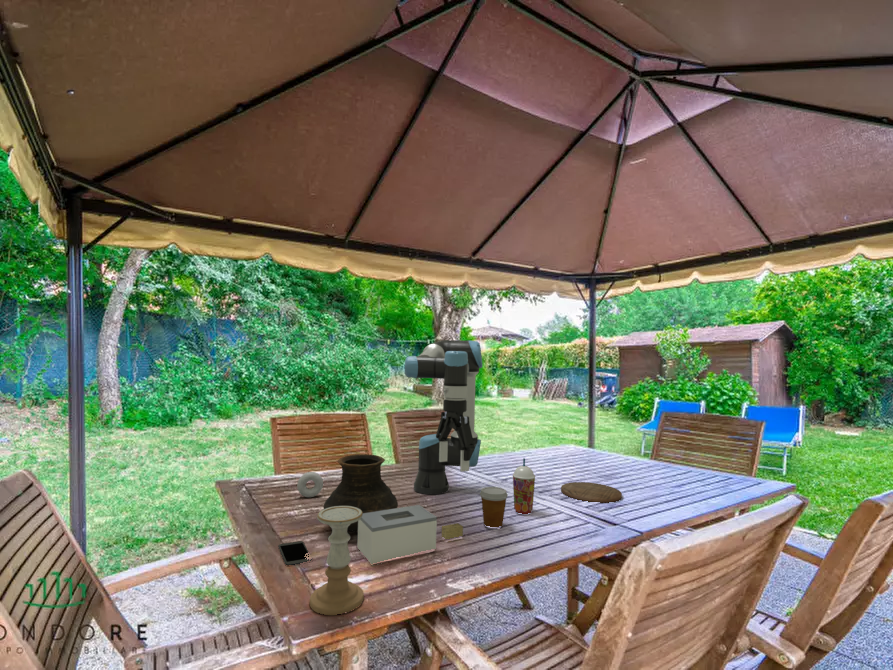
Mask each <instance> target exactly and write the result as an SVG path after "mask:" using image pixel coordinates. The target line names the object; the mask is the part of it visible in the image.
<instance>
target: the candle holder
mask: <svg viewBox="0 0 893 670" xmlns="http://www.w3.org/2000/svg"><path fill="white" fill-rule="evenodd" d="M362 516H363V512H362V510H361V509H359V508H356V507H352V506H334V507H329V508H326V509H324V508H323V509H321V510H320V511H319V512H318V513H317V516H316V518H317V522H319V523H321V524H324V525H326V526H329V527H330V528H331V534H330V535H329V536H328V538H327V539H328V542H329V543H330V546H329V550H328V554H327V557H326V560H325V561H326V564H327V566H328V567H327V568H326V569H325V571H324V574H325V576H326V577H327V582H326V583H324V584H322V585H321V586H319V587H317V588H316V589H315V590H314V591H313V592H312V593H311V595H310V597H309V606H310V608H311V610H312V611H314V612H315V613H317V614H319V613H320V615H323V614H324V615H323V616H338V615H337V614H341V615H343V614H342V613H345V612H348V613H350V612H349V611H351V610H353V609H355V608H356V607H358V606H359V605H360V604H361V603H362V604H363V602H364V598H365V592H364V590H363V588H362V587H361V586H359V585H358V584H355V583H353V582H351V581H349V579H348V578H349V577H348V576H349V575H350V574H351V572H352V568H351V566H349V563H350V562H351V559H352V557H351V553H350V551H349V550H350V549H349V543H348V542H349V541H350V540H351V535H350V534H349V533H348V529H347V528H348V526H349V525H350V524H351V523H354V522H357V521H359V520H360V519H361V518H362ZM362 601H363V602H362ZM362 604H361V605H362ZM361 605H360V606H361ZM360 606H359V607H360ZM359 607H358V608H359ZM356 609H357V608H356ZM356 609H355V610H356ZM353 611H354V610H353ZM351 612H352V611H351ZM345 614H346V613H345Z"/></svg>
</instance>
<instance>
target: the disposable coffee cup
mask: <svg viewBox="0 0 893 670" xmlns="http://www.w3.org/2000/svg"><path fill="white" fill-rule="evenodd" d="M479 495H480V498H481V507H482V509H481V511H482V518H483V525H484V524H485V525H486V526H490V527H499V526H502V525H504V518H505V512H506V505H507V504H506V503H507V499H508V495H509V494H508V492H507V490H506V489H504V488H502V487H499V486H498V487H496V486H486V487H483V488H481V490H480V493H479ZM502 527H503V526H502Z"/></svg>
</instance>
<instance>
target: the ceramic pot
mask: <svg viewBox="0 0 893 670" xmlns="http://www.w3.org/2000/svg"><path fill="white" fill-rule="evenodd" d="M385 461H386V458H384V457H382V456H380V455H376V454H370V453H369V454H368V453H367V454H366V453H362V454H356V453H355V454H351V455H350V454H349V455H345V456H342V457H341V458H339V459H338V461H337V463H338V464H339V465H340V466H341V471H342V472H341V479H340V480H341V481H340V483H339V484H337V487H336V488H335V489H334V490H333V491H332V492H331V493H330V495H329V496H328V498H327V499H326V500H325V502H324V503H323V509H326V508H329V507H334V506H352V507H356V508H359V509H361V510H362V512H363V513H369V512H376V511H382V510H389V509H395V508H399V504H398V500H397V497H396V495H394V494H393V491H392V489H391V488H390V487H389V486H388V485H387V484H386V483H385V481H384V480H383V479H382V473H381V470H382V469H381V468H382V467H381V466H382V464H384V463H385ZM347 531H349V532H354V533H358V521H357V522H354V523H351V524H350V525H349V526H348V528H347Z"/></svg>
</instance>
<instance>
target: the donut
mask: <svg viewBox="0 0 893 670" xmlns="http://www.w3.org/2000/svg"><path fill="white" fill-rule="evenodd" d="M310 481H312V482H314V486H312V487H311V488H308V487H307V483H308V482H310ZM296 486H297V487H296V488H297V491H298V492H299V493H298V494H300V495H301V496H302V497H305V498H313V497H316V496H317V495H319V494H320V493H321V491H322V489H323V487H324V480H323V477H322V476H321V474H319V473H318V472H315V471H308V472H305V473H303V474H302V475H301V476H300V477H299V479H298V480H297V484H296Z"/></svg>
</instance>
